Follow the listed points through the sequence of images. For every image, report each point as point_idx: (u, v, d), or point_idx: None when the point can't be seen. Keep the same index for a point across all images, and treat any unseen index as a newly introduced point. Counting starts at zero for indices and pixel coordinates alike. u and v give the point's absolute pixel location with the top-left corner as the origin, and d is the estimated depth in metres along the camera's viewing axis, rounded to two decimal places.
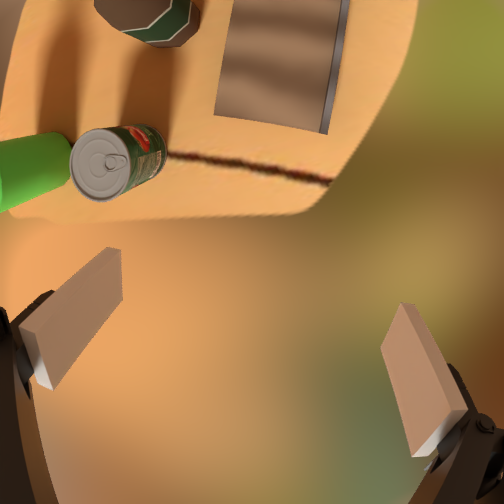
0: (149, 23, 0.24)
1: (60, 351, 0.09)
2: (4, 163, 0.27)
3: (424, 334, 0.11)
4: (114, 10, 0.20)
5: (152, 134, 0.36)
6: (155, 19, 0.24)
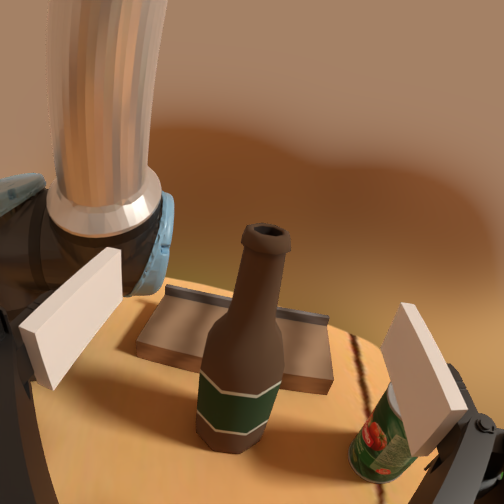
0: None
1: (60, 351, 0.09)
2: None
3: (424, 334, 0.11)
4: (279, 335, 0.27)
5: None
6: None
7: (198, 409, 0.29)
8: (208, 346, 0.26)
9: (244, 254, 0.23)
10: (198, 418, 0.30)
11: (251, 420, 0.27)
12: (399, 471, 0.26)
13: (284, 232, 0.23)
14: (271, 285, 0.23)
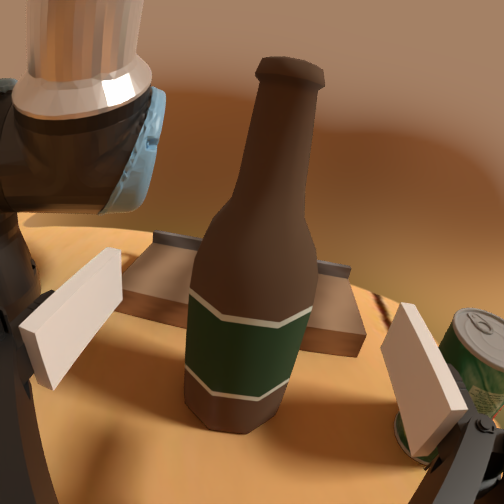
0: None
1: (60, 351, 0.09)
2: None
3: (424, 334, 0.11)
4: None
5: None
6: None
7: (187, 362, 0.20)
8: (202, 244, 0.17)
9: (259, 89, 0.15)
10: (186, 378, 0.21)
11: (267, 373, 0.18)
12: None
13: None
14: (299, 130, 0.15)
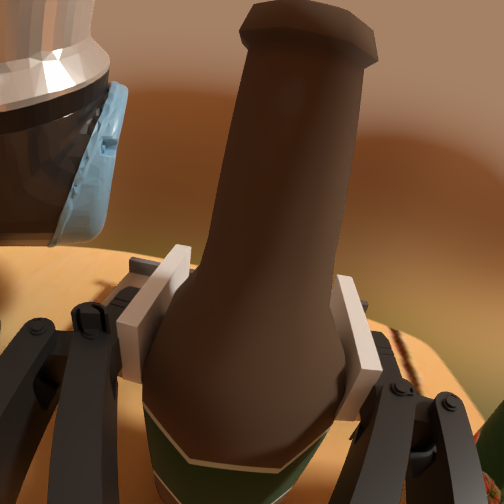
0: None
1: (149, 344, 0.11)
2: None
3: (353, 302, 0.13)
4: None
5: None
6: None
7: (155, 470, 0.13)
8: (152, 348, 0.10)
9: (248, 63, 0.07)
10: (157, 482, 0.13)
11: (262, 503, 0.11)
12: None
13: None
14: (331, 147, 0.07)
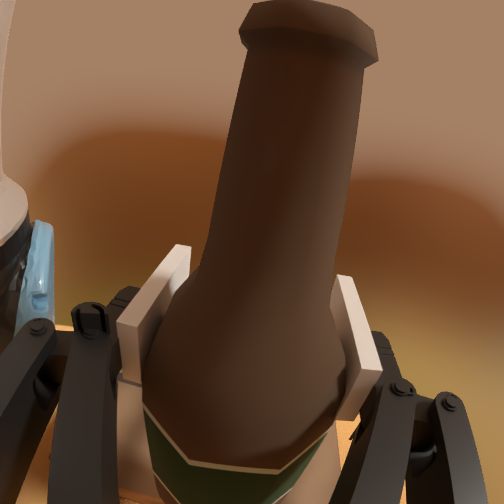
0: None
1: (150, 344, 0.11)
2: None
3: (353, 302, 0.13)
4: None
5: None
6: None
7: (154, 471, 0.13)
8: (152, 349, 0.10)
9: (248, 63, 0.07)
10: (157, 483, 0.13)
11: None
12: None
13: None
14: (332, 148, 0.07)
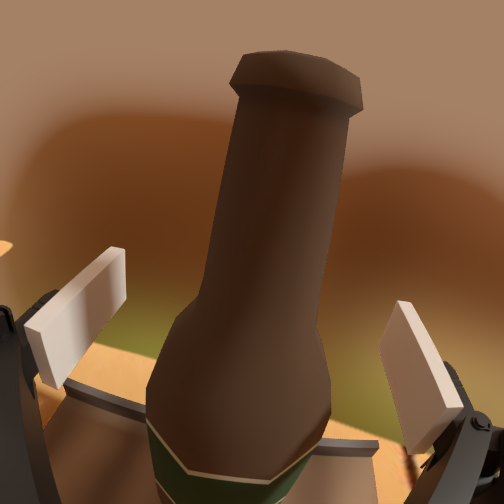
0: None
1: (65, 350, 0.10)
2: None
3: (420, 332, 0.11)
4: (321, 346, 0.11)
5: None
6: None
7: (156, 478, 0.13)
8: (154, 371, 0.10)
9: (238, 116, 0.08)
10: (159, 490, 0.14)
11: None
12: None
13: None
14: (315, 200, 0.08)
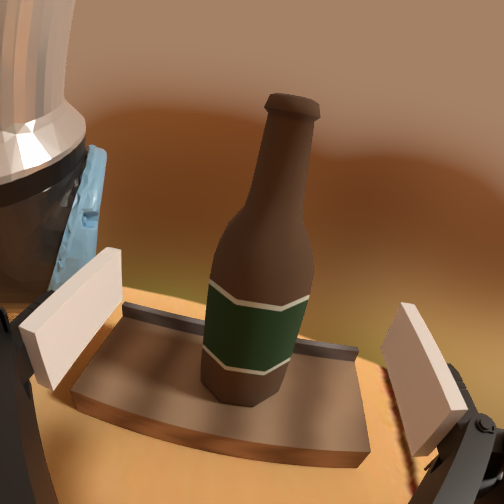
0: None
1: (60, 351, 0.09)
2: None
3: (424, 334, 0.11)
4: None
5: None
6: None
7: (204, 342, 0.25)
8: (221, 243, 0.22)
9: (268, 120, 0.19)
10: (203, 357, 0.26)
11: (272, 350, 0.23)
12: None
13: None
14: (299, 154, 0.19)
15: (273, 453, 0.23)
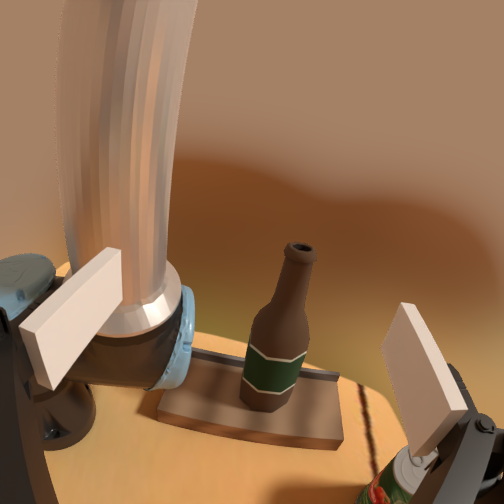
0: None
1: (60, 351, 0.09)
2: None
3: (424, 334, 0.11)
4: (305, 317, 0.39)
5: (367, 485, 0.31)
6: None
7: (244, 376, 0.41)
8: (257, 326, 0.38)
9: (286, 263, 0.35)
10: (243, 384, 0.42)
11: (285, 381, 0.39)
12: None
13: (312, 248, 0.35)
14: (303, 282, 0.35)
15: (285, 440, 0.39)
